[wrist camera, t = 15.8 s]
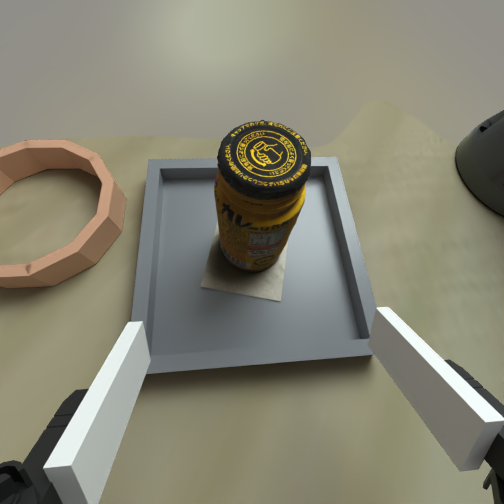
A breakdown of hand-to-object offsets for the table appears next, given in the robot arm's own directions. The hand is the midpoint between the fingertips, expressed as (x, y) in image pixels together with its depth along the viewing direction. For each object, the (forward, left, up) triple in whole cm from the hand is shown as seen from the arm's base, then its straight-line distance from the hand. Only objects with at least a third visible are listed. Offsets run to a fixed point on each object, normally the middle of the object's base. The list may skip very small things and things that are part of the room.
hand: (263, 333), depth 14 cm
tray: (0, -8, -8) cm, 12 cm away
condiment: (0, -8, -8) cm, 11 cm away
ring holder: (+20, -13, -8) cm, 25 cm away
